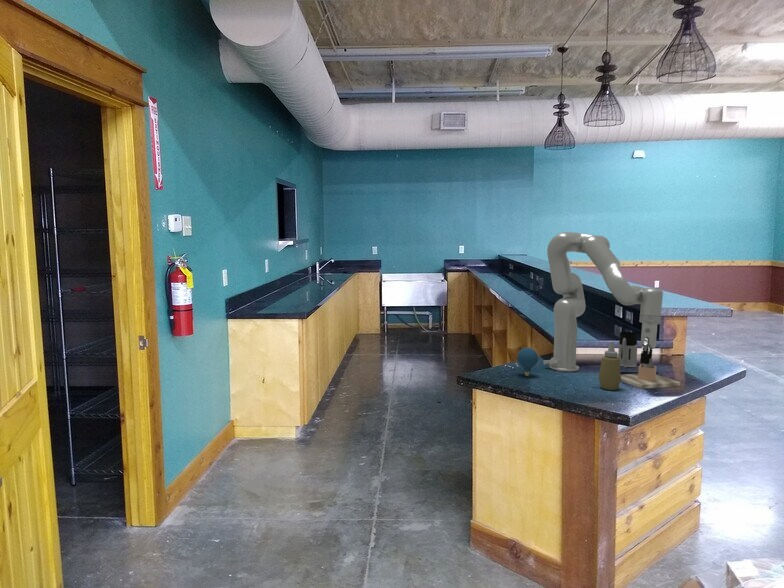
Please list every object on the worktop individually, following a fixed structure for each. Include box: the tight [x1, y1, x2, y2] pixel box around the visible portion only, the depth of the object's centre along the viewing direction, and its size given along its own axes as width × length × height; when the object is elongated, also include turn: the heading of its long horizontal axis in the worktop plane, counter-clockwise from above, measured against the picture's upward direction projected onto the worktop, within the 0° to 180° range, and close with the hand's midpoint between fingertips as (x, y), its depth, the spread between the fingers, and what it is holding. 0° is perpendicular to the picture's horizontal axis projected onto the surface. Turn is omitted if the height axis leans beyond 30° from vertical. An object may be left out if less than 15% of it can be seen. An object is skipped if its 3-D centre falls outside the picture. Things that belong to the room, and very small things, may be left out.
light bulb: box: [517, 347, 539, 377], centre depth 228 cm, size 8×8×12 cm
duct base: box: [621, 358, 682, 390], centre depth 220 cm, size 18×16×10 cm
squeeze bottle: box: [598, 341, 622, 391], centre depth 210 cm, size 8×8×18 cm
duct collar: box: [637, 363, 657, 381], centre depth 220 cm, size 6×6×5 cm
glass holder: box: [617, 331, 638, 368], centre depth 248 cm, size 9×14×15 cm, turn 144°
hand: (645, 361), depth 220 cm, fingers open, 9 cm apart
